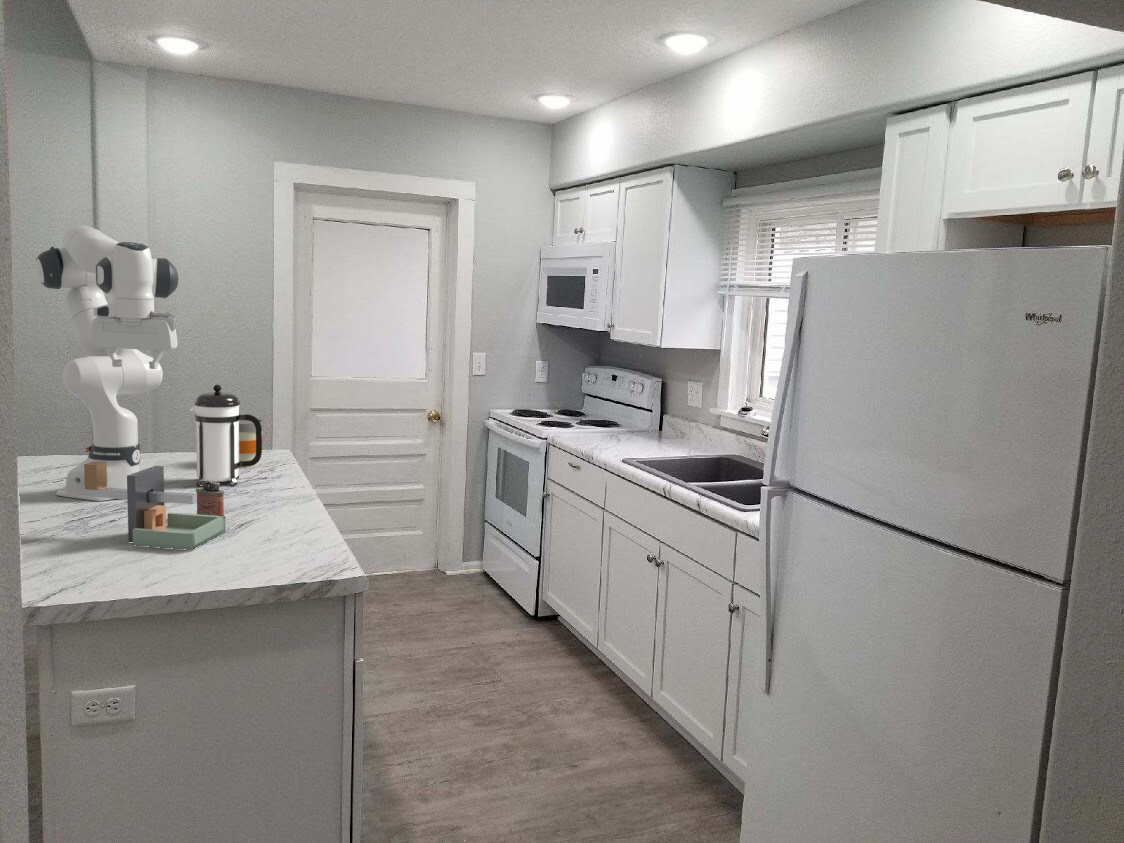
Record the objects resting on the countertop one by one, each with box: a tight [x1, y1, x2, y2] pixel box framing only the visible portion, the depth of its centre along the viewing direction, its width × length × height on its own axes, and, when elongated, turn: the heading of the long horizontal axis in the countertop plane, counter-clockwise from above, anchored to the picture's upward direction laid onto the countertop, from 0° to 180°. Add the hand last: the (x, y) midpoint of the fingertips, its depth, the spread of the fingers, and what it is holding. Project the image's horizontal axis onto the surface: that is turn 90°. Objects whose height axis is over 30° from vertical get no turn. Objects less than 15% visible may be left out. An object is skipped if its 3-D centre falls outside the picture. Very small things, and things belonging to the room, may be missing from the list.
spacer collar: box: [144, 505, 167, 530], centre depth 207 cm, size 2×6×6 cm, turn 175°
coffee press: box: [189, 384, 263, 487], centre depth 264 cm, size 17×16×30 cm
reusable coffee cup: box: [239, 418, 265, 469], centre depth 290 cm, size 13×13×15 cm
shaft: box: [84, 461, 197, 505], centre depth 206 cm, size 26×4×8 cm, turn 85°
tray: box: [132, 511, 226, 551], centre depth 207 cm, size 14×16×4 cm
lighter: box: [195, 479, 225, 516], centre depth 226 cm, size 8×3×10 cm, turn 71°
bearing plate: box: [126, 465, 165, 543], centre depth 207 cm, size 2×12×16 cm, turn 175°
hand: (135, 367), depth 213 cm, fingers open, 8 cm apart
